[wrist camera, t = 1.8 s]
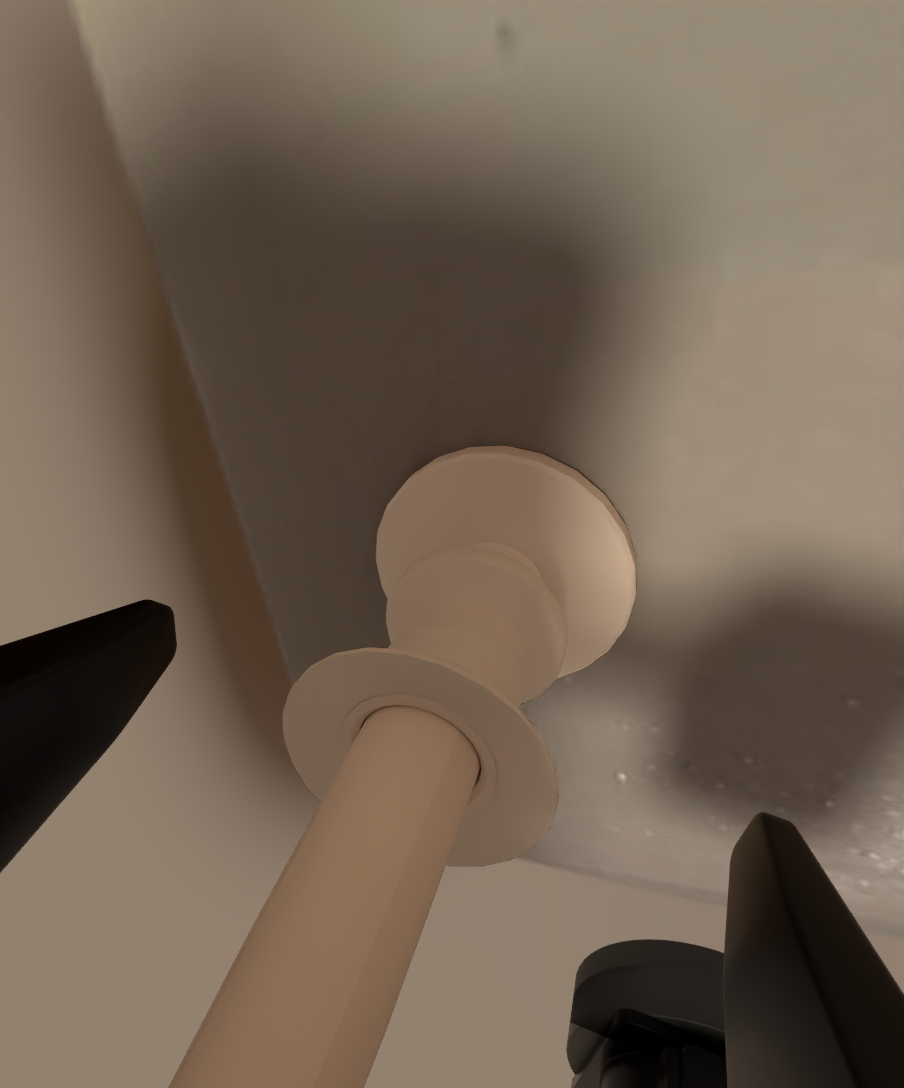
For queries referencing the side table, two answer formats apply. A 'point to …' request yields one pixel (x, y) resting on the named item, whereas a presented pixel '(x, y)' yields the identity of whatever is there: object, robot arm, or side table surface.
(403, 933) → the candle
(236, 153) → the side table surface
